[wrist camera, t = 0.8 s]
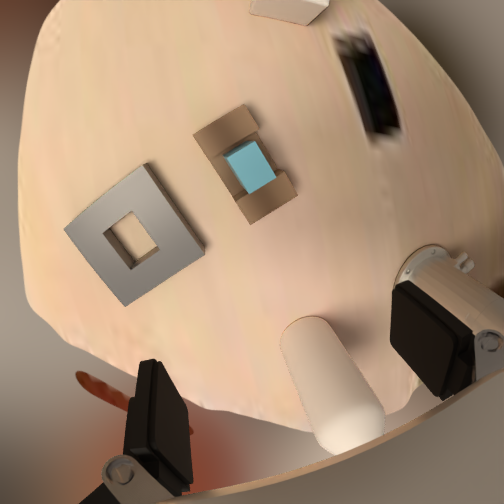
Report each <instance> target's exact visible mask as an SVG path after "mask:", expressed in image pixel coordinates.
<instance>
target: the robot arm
mask: <svg viewBox="0 0 504 504" xmlns="http://www.w3.org/2000/svg"><path fill="white" fill-rule="evenodd" d="M467 258H468V256H467V254H466V253H465V252H462V253H461V254H460V255H459V256H458V257H457V258H456V259H455V258H453V259H452V258H451V257H450V255H449V253H448V252H447V251H446V250H445V249H443V248H441V247H439V246H436V245H429V246H425V247H423V248H421V249H419V250H417V251H416V252H415V253H413V254H412V255H411V256H410V257H409V258H408V259H407V261H406V262H405V263H404V265H403V266H402V268H401V270H400V271H399V273H398V276H397V278H396V281H395V285H394V289H393V291H392V310H391V329H390V343H391V345H392V347H393V348H394V349H395V350H396V351H397V352H398V354H399V355H400V356H401V357H402V358H403V359H404V360H405V362H406V363H407V364H408V365H409V366H410V367H411V369H412V370H413V371H414V372H415V373H416V374H417V376H418V377H419V378H420V379H421V380H422V382H423V383H424V384H425V385H426V386H427V387H428V389H429V390H430V391H431V392H432V393H433V395H434V396H436V397H438V396H439V397H440V399H441V400H442V401H444V400H445V399H447V398H449V397H450V396H452V395H454V396H453V397H451V398H449V399H448V400H446V401H444V402H443V403H441V404H439V405H438V406H436V407H435V408H433V409H431V410H430V411H428V412H426V413H424V414H423V415H421V416H419V417H417V418H415V419H414V420H412V421H410V422H408V423H406V424H404V425H402V426H400V427H399V428H396V429H394V430H393V431H390V432H389V433H386V434H384V435H382V436H380V437H378V438H376V439H374V440H372V441H369V442H367V443H365V444H363V445H360V446H358V447H356V448H353V449H351V450H348V451H346V452H343V453H341V454H338V455H336V456H333V457H331V458H328V459H326V460H322V461H320V462H317V463H314V464H311V465H308V466H305V467H302V468H299V469H296V470H292V471H289V472H286V473H282V474H279V475H275V476H272V477H268V478H264V479H260V480H256V481H252V482H247V483H243V484H239V485H234V486H230V487H225V488H220V489H214V490H209V491H204V492H198V493H193V494H188V495H182V492H187V491H190V485H189V484H192V483H193V471H192V460H191V448H190V435H189V420H188V410H187V407H186V404H185V403H184V401H183V399H182V398H181V396H180V394H179V392H178V391H177V389H176V387H175V385H174V384H173V382H172V380H171V378H170V377H169V375H168V373H167V371H166V369H165V367H164V366H163V364H162V362H161V361H158V362H157V361H156V360H155V359H150V360H145V361H141V362H140V364H139V370H138V377H137V384H136V392H135V397H131V398H130V400H129V405H128V414H127V421H126V430H125V439H124V448H123V455H118V456H114V457H112V458H111V459H109V460H108V461H107V462H106V463H105V465H104V467H103V469H102V480H103V483H102V484H101V485H100V486H99V487H98V488H96V489H95V490H94V491H93V492H92V493H91V494H90V495H88V496H87V497H86V498H85V499H84V500H83V501H81V502H80V503H79V504H504V299H503V298H502V297H500V296H499V295H497V294H496V293H494V292H493V291H491V290H490V289H488V288H487V287H485V286H484V285H482V284H481V283H479V282H478V281H476V280H475V279H473V278H472V277H470V276H469V275H467V274H466V273H468V272H469V271H470V270H471V269H473V268H474V262H473V261H472V259H470V258H468V259H467ZM466 259H467V260H466ZM462 262H463V263H462ZM461 263H462V264H461ZM460 264H461V266H460Z"/></svg>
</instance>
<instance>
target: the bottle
mask: <svg viewBox="0 0 504 504" xmlns="http://www.w3.org/2000/svg"><path fill="white" fill-rule="evenodd" d="M280 349H281V352H282V354H283V357H284V360H285V362H286V365H287V367H288V370H289V372H290V375H291V377H292V380H293V382H294V385H295V387H296V390H297V392H298V395H299V397H300V400H301V402H302V405H303V407H304V410H305V412H306V415H307V417H308V420H309V422H310V425H311V427H312V430H313V432H314V435H315V437H316V439H317V441H318V442H319V444H320V445H321V446H322V447H323V448H324V449H326V450H327V451H328V452H330V453H332V454H334V455H335V456H336V455H338V454H341V453H343V452H346V451H348V450H351V449H353V448H356V447H358V446H360V445H363V444H365V443H367V442H369V441H372V440H374V439H376V438H378V437H380V436H382V435H384V428H385V411H384V408H383V406H382V404H381V403H380V401H379V399H378V398H377V396H376V395H375V393H374V391H373V390H372V388H371V387H370V385H369V384H368V382H367V381H366V379H365V378H364V376H363V375H362V373H361V372H360V370H359V369H358V367H357V366H356V364H355V362H354V361H353V359H352V358H351V356H350V355H349V353H348V352H347V350H346V349H345V347H344V346H343V344H342V343H341V341H340V340H339V338H338V337H337V335H336V334H335V332H334V331H333V329H332V328H331V327H330V325H329V324H328V323H327V322H326V321H325V320H324V319H322V318H319V317H312V316H311V317H304V318H301V319H299V320H297V321H295V322H293V323H292V324H290V325H289V326H288V327H287V328H286V329H285V331H284V332H283V334H282V336H281V339H280Z"/></svg>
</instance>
